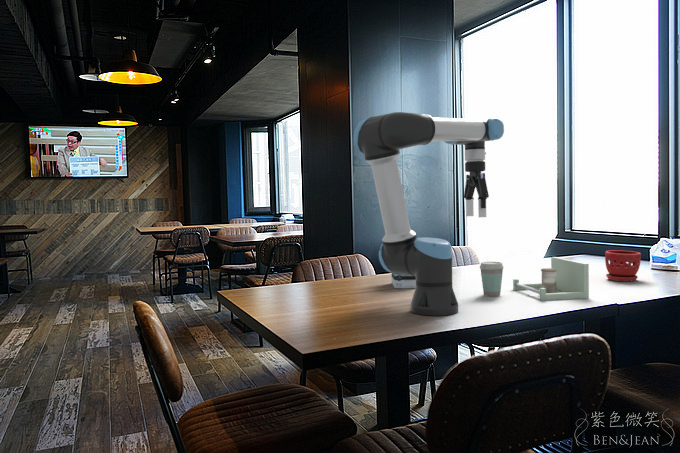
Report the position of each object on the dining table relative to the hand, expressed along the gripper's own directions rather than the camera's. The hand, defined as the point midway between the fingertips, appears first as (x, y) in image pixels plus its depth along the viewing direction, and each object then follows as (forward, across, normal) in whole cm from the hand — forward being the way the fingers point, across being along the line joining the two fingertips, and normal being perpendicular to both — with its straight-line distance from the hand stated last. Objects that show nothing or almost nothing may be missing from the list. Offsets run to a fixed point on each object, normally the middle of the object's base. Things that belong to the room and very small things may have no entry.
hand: (476, 216), depth 205 cm
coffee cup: (+29, -10, -2) cm, 31 cm away
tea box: (+29, +20, +24) cm, 43 cm away
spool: (+29, -12, -23) cm, 39 cm away
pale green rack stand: (+29, -12, -23) cm, 39 cm away
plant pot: (+29, +9, -66) cm, 73 cm away
